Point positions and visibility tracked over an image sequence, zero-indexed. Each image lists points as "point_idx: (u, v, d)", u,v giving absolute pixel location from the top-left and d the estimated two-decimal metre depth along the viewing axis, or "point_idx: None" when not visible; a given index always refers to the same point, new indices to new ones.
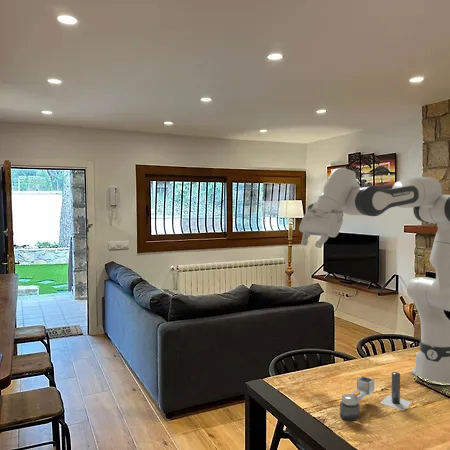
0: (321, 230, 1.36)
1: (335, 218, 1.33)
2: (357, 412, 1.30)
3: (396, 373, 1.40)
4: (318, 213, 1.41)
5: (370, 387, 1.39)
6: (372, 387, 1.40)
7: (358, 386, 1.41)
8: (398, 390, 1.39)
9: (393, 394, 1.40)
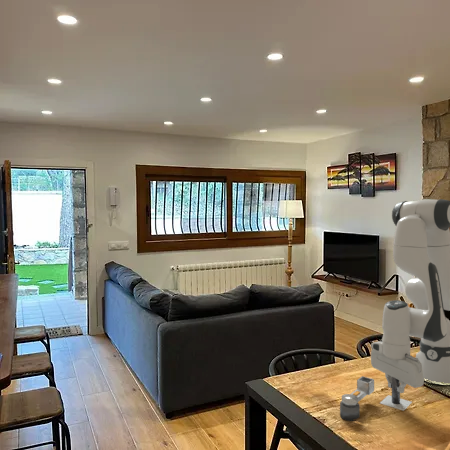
0: (404, 381, 1.34)
1: (415, 372, 1.30)
2: (357, 412, 1.30)
3: None
4: (391, 360, 1.38)
5: (370, 387, 1.39)
6: (372, 387, 1.40)
7: (358, 386, 1.41)
8: None
9: (393, 394, 1.40)
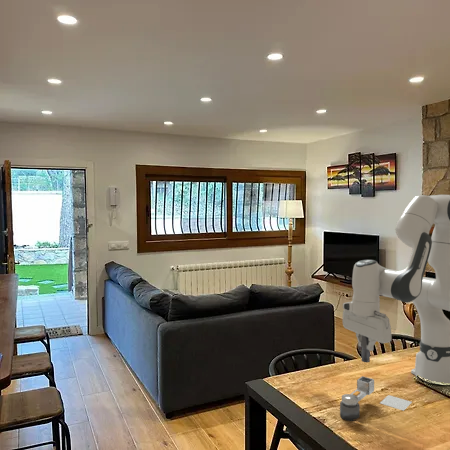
0: (373, 338, 1.35)
1: (383, 327, 1.31)
2: (357, 412, 1.30)
3: None
4: (360, 318, 1.38)
5: (370, 387, 1.39)
6: (372, 387, 1.40)
7: (358, 386, 1.41)
8: None
9: (362, 352, 1.40)
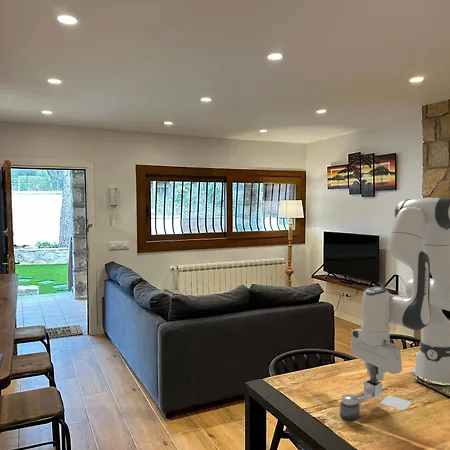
0: (383, 368, 1.32)
1: (393, 358, 1.28)
2: (357, 412, 1.30)
3: None
4: (370, 346, 1.36)
5: (376, 390, 1.37)
6: (380, 390, 1.38)
7: (365, 388, 1.39)
8: None
9: (370, 381, 1.38)
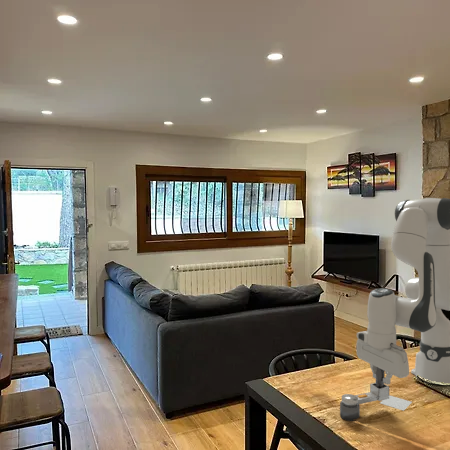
0: (389, 371, 1.29)
1: (400, 361, 1.25)
2: (357, 412, 1.30)
3: None
4: (376, 349, 1.33)
5: (381, 393, 1.34)
6: (386, 394, 1.35)
7: (371, 390, 1.37)
8: (381, 381, 1.34)
9: (376, 384, 1.35)
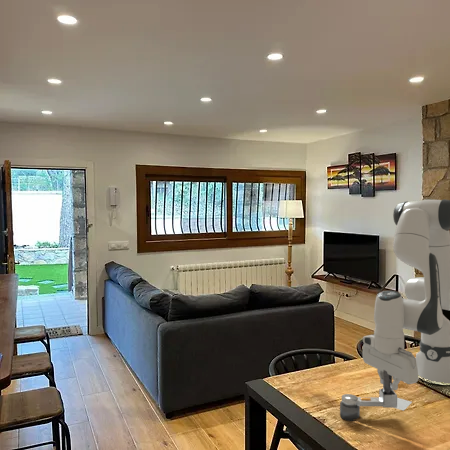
0: (397, 377, 1.25)
1: (409, 367, 1.21)
2: (357, 412, 1.30)
3: None
4: (383, 354, 1.28)
5: (387, 400, 1.29)
6: (393, 402, 1.29)
7: (379, 396, 1.33)
8: (387, 387, 1.29)
9: (383, 390, 1.31)
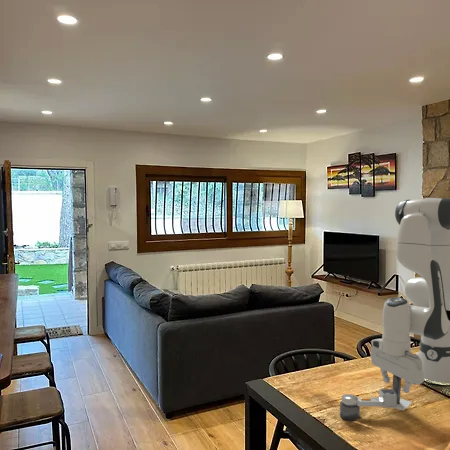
0: (404, 378, 1.34)
1: (415, 368, 1.30)
2: (357, 412, 1.30)
3: None
4: (391, 357, 1.38)
5: (387, 400, 1.29)
6: (393, 402, 1.29)
7: (379, 396, 1.33)
8: (397, 390, 1.39)
9: None
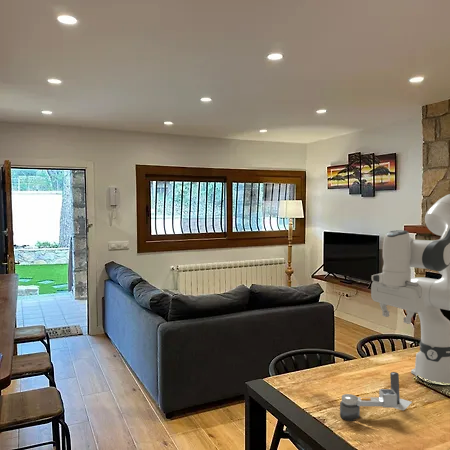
0: (405, 308, 1.33)
1: (416, 296, 1.29)
2: (357, 412, 1.30)
3: (395, 373, 1.40)
4: (391, 288, 1.37)
5: (387, 400, 1.29)
6: (393, 402, 1.29)
7: (379, 396, 1.33)
8: (395, 390, 1.39)
9: None
